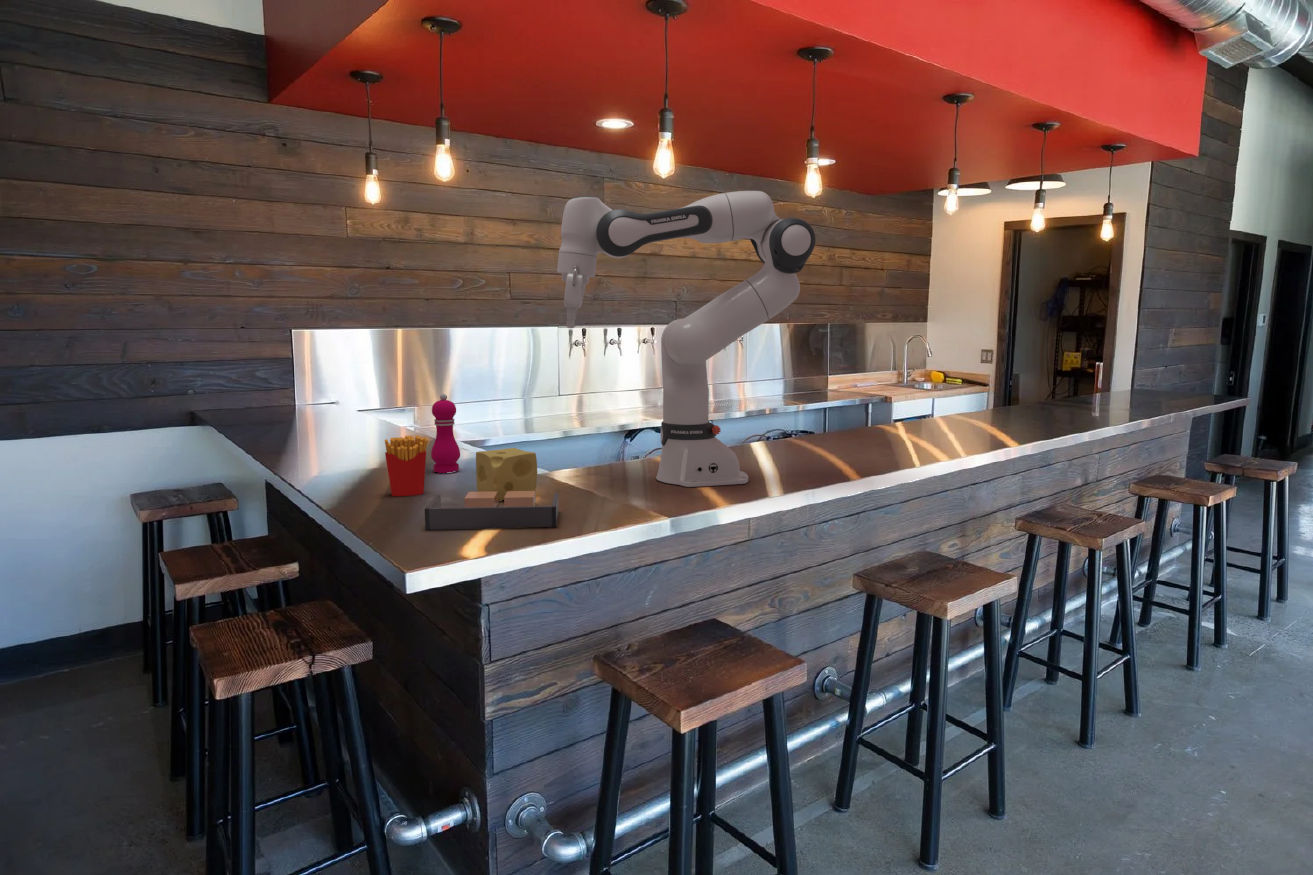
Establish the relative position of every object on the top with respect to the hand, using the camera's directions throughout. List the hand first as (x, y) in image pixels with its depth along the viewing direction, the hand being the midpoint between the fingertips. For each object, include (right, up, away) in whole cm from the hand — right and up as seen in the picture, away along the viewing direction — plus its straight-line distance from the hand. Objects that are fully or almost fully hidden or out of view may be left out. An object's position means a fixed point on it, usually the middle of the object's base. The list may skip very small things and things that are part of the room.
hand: (570, 327), depth 186 cm
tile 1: (-17, -41, -20) cm, 48 cm away
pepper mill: (-34, -35, +18) cm, 52 cm away
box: (-12, -42, -30) cm, 53 cm away
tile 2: (-9, -41, -19) cm, 46 cm away
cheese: (-13, -39, -8) cm, 42 cm away
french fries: (-36, -39, -7) cm, 53 cm away
